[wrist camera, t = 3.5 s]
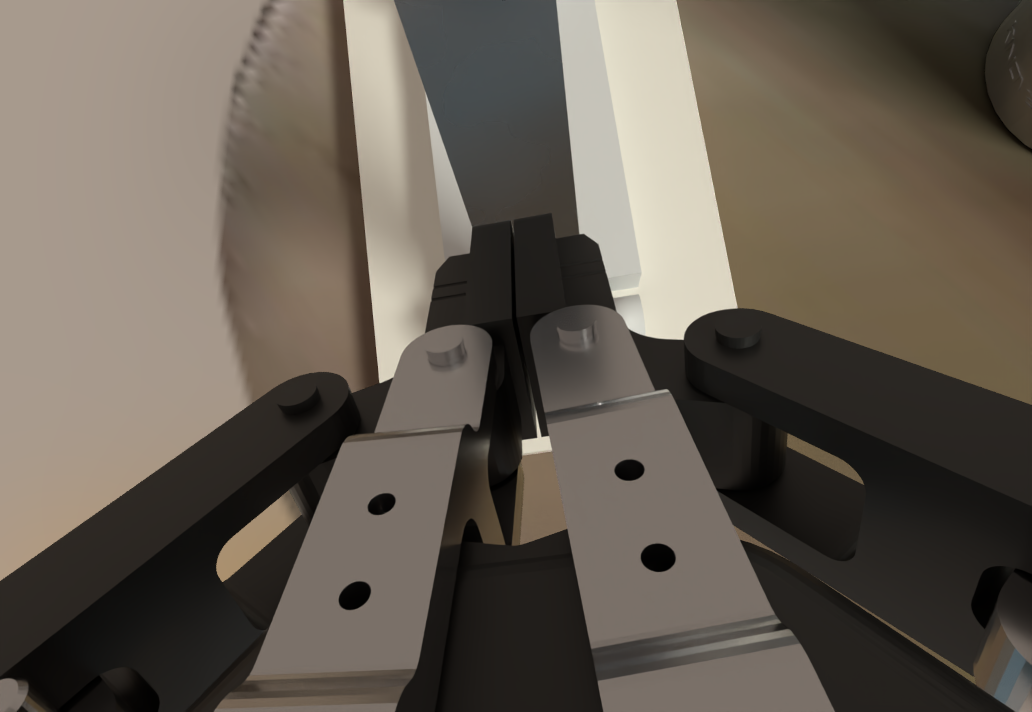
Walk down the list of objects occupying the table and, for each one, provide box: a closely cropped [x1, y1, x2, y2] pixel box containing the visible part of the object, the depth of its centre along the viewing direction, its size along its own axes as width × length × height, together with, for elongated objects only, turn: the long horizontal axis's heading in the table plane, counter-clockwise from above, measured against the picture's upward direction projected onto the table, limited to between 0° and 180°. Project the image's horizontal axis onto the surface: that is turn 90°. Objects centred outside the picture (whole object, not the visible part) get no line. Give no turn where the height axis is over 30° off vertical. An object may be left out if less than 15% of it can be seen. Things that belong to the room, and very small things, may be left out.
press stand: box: [343, 0, 737, 455], centre depth 29 cm, size 16×25×7 cm, turn 8°
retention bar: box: [394, 0, 579, 238], centre depth 18 cm, size 3×19×1 cm
